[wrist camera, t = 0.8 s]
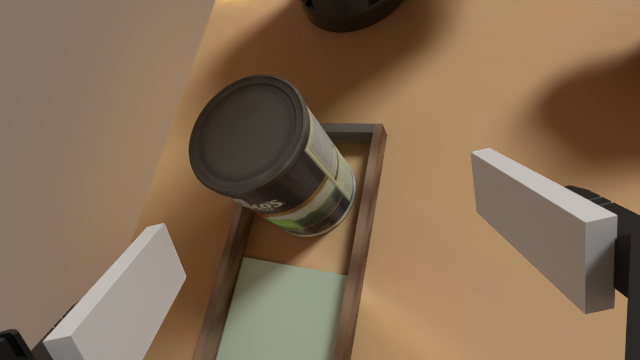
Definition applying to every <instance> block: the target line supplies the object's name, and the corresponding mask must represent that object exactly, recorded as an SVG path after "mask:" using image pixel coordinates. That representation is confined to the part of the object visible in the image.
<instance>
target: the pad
mask: <svg viewBox="0 0 640 360" xmlns="http://www.w3.org/2000/svg"><path fill="white" fill-rule="evenodd" d="M347 277H348V276H347V275H342V274H336V273H330V272H325V271H319V270H314V269H308V268H302V267H297V266H291V265H286V264H280V263H274V262H269V261H263V260H258V259H252V258H246V257H243V260H242V264H241V268H240V272H239V275H238V279H237V283H236V287H235V291H234V294H233V298H232V302H231V306H230V309H229V313H228V317H227V321H226V324H225V328H224V332H223V336H222V339H221V343H220V347H219V351H218V354H217V358H216V360H333V356H334V351H335V345H336V339H337V334H338V328H339V322H340V317H341V311H342V305H343V300H344V294H345V288H346V283H347Z"/></svg>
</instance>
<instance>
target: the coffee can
mask: <svg viewBox="0 0 640 360" xmlns="http://www.w3.org/2000/svg"><path fill="white" fill-rule="evenodd" d="M189 158H190V163H191V167H192V169H193V171H194V174H195V175H196V177H197V179H198V180H199V181H200V182H201V183H202V184H203V185H204V186H206V187H208V188H209V189H211V190H213V191H215V192H217V193H220V194H222V195H225V196H227V197H228V198H230V199H232V200H234V201H235V202H237V203H239V204H241V205H242V206H244V207H246V208H248V209H249V210H251V211H253V212H255V213H256V214H258V215H260V216H262V217H264V218H265V219H267V220H269V221H271V222H272V223H274V224H276V225H277V226H279V227H281V228H282V229H283V230H285V231H286V232H288V233H290V234H292V235H295V236H299V237H314V236H318V235H321V234H324V233H327V232H329V231H330V230H332V229H333V228H335V227H336V226H337V225H338V224H340V223H341V222H342V220H343V219H344V218H345V217H346V216H347V214H348V213H349V211H350V209H351V207H352V205H353V202H354V199H355V193H356V181H355V176H354V173H353V170H352V168H351V166H350V165H349V164H348V162H347V161H346V160H345V159H344V158H343V156H342V155H341V154H340V152H339V151H338V149H337V148H336V147H335V145H334V144H333V142H332V141H331V139H330V138H329V137H328V135H327V134H326V132H325V131H324V130H323V128H322V127H321V125H320V124H319V122H318V121H317V119H316V118H315V117H314V115H313V114H312V112H311V111H310V109H309V108H308V107H307V105H306V103H305V101H304V99H303V97H302V95H301V94H300V92H299V91H298V90H297V88H296V87H295V86H294V85H293V84H291V83H290V82H289V81H287V80H285V79H283V78H281V77H278V76H274V75H264V74H261V75H253V76H249V77H246V78H243V79H240V80H238V81H236V82H234V83H232V84H230V85H229V86H227V87H225V88H224V89H223V90H222V91H220V92H219V93H218V94H217V95H215V96H214V97H213V98H212V99H211V100H210V101H209V102H208V104H207V105H206V106H205V108H204V109H203V110H202V112H201V113H200V115H199V117H198V119H197V120H196V123H195V125H194V128H193V130H192V133H191V137H190V142H189Z"/></svg>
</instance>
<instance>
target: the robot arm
mask: <svg viewBox="0 0 640 360" xmlns="http://www.w3.org/2000/svg"><path fill="white" fill-rule="evenodd" d="M300 1H301V4H302V6H303V8H304V10H305V12H306V14H307V16H308V17H309V19H310V20H311V21H312V22H313V23H314V24H315V25H317V26H318V27H320V28H322V29H325V30H329V31H336V32H344V31H352V30H357V29H361V28H364V27H366V26H369V25H371V24H373V23H375V22H377V21H379V20H381V19H383V18H384V17H386V16H387V15H388V14H390V13H391V12H392V11H393V10H394V9H396V8H397V7H398V6H399V5H400V3H401V2H402V1H403V0H300ZM471 160H472V170H473V179H474V189H475V199H476V209H477V213H478V214H479V215H480V216H482V217H483V218H484V219H485V220H486V221H487V222H488V223H489V224H490V225H491V226H492V227H493V228H494V229H495V230H496V231H497V232H498V233H500V234H501V235H502V236H503V237H504V238H505V239H506V240H507V241H508V242H509V243H510V244H511V245H512V246H513V247H514V248H515V249H516V250H518V251H519V252H520V253H521V254H522V255H523V256H524V257H525V258H526V259H527V260H528V261H529V262H530V263H531V264H532V265H533V266H535V267H536V268H537V269H538V270H539V271H540V272H541V273H542V274H543V275H544V276H545V277H546V278H547V279H548V280H549V281H550V282H551V283H553V284H554V285H555V286H556V287H557V288H558V289H559V290H560V291H561V292H562V293H563V294H564V295H565V296H566V297H567V298H568V299H569V300H571V301H572V302H573V303H574V304H575V305H576V306H577V307H578V308H579V309H580V310H581V311H582V312H583V313H584V314H588V313H593V312H598V311H603V310H607V309H612V308H614V300H615V289H616V290H618V291H619V292H620V293H622V294H623V295H624V296H626V297H627V298H628V306H627V326H626V347H625V360H640V215H638V214H636V213H634V212H632V211H630V210H628V209H626V208H624V207H622V206H620V205H618V204H616V203H611V201H610V200H607V199H605V198H603V197H602V198H601V197H600V196H599V195H597V194H595V193H593V192H591V191H589V190H587V189H583V188H578V187H574V186H565V187H563V186H561V185H559V184H557V183H555V182H553V181H551V180H549V179H548V178H546V177H544V176H542V175H540V174H538V173H536V172H534V171H532V170H531V169H529V168H527V167H525V166H523V165H521V164H519V163H517V162H515V161H513V160H512V159H510V158H508V157H506V156H504V155H502V154H500V153H498V152H496V151H494V150H493V149H491V148H486V149H482V150H477V151H473V152H471ZM186 277H187V276H186V274H185V272H184V269H183V267H182V264H181V262H180V260H179V257H178V255H177V252H176V250H175V247H174V245H173V243H172V240H171V238H170V235H169V233H168V230H167V228H166V226H165V223H161V224H157V225H153V226H148V227H147V228H146V229H145V230H144V231H143V232H142V233H141V234H140V235H139V236H138V237H137V238H136V240H135V241H134V242H133V243H132V244H131V245H130V246H129V247H128V248H127V249H126V251H125V252H124V253H123V254H122V255H121V256H120V257H119V259H117V261H116V262H115V263H114V264H113V265H112V266H111V267H110V268H109V269H108V270H107V271H106V273H105V274H104V275H103V276H102V277H101V278H100V279H99V280H98V281H97V282H96V284H95V285H94V286H93V287H92V288H91V289H90V290H89V291H88V292H87V293H86V294H85V296H84V297H83V298H82V299H81V300H80V301H78V302H77V303H76V304H74V305H73V306H72V307H71V308H70V309H69V310H68V311H67V313H66V314H65V315H64V316H63V318H62V319H60V320H59V321H58V322H57V323H56V324H55V327H54V328H52V329H51V330H50V331H49V332H48V333H47V334H46V335H45V336H44V338H43V339H42V340H41V341H40V342H39V343H38V344H37V345H36V346H35V347H34V348H33V349H32V351H30V349H29V348H28V346H27V344H26V343H25V341H24V340H23V338H22V336H21V335H20V333H19V332H18V331H17V330H16V329H15V330H14V329H12V330H11V329H9V330H6V331H2V332H0V360H143V358H144V356H145V354H146V352H147V350H148V349H149V347H150V345H151V343H152V341H153V339H154V337H155V335H156V334H157V332H158V330H159V328H160V326H161V324H162V322H163V320H164V319H165V317H166V315H167V313H168V311H169V309H170V307H171V305H172V304H173V302H174V300H175V298H176V296H177V294H178V292H179V290H180V289H181V287H182V285H183V283H184V281H185V279H186Z"/></svg>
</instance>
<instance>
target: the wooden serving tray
mask: <svg viewBox="0 0 640 360" xmlns="http://www.w3.org/2000/svg"><path fill="white" fill-rule="evenodd" d="M319 124H320V125H321V127H322V128H323V130H324V131H325V132H326V134H327V135H328V137H329V138H330V139H331V141H332V142H344V143H371V147H370V152H369V158H368V164H367V169H366V175H365V181H364V186H363V192H362V198H361V203H360V209H359V215H358V220H357V226H356V232H355V237H354V243H353V249H352V254H351V260H350V266H349V271H348V277H347V283H346V288H345V294H344V300H343V305H342V311H341V317H340V322H339V328H338V334H337V339H336V345H335V351H334V356H333V360H351V353H352V347H353V341H354V335H355V329H356V323H357V317H358V310H359V304H360V298H361V292H362V286H363V280H364V274H365V268H366V261H367V255H368V249H369V243H370V237H371V231H372V225H373V219H374V212H375V206H376V200H377V194H378V188H379V182H380V176H381V170H382V163H383V157H384V151H385V145H386V139H387V134H386V131H385V129H384V127H383V124H332V123H319ZM253 216H254V212H253V211H251V210H249V209H248V208H246V207H244V206H242V205H241V204H239V203H237V206H236V209H235V213H234V216H233V220H232V223H231V227H230V230H229V234H228V237H227V241H226V245H225V248H224V252H223V255H222V259H221V262H220V266H219V269H218V273H217V276H216V280H215V283H214V287H213V290H212V294H211V297H210V301H209V305H208V308H207V312H206V315H205V319H204V322H203V326H202V329H201V333H200V336H199V340H198V343H197V347H196V350H195V354H194V357H193V360H215V359H216V355H217V351H218V347H219V344H220V340H221V336H222V332H223V329H224V325H225V321H226V317H227V314H228V310H229V306H230V302H231V299H232V295H233V291H234V287H235V284H236V280H237V276H238V272H239V269H240V265H241V261H242V257H243V254H244V250H245V246H246V242H247V239H248V235H249V231H250V227H251V224H252V220H253Z"/></svg>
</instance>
